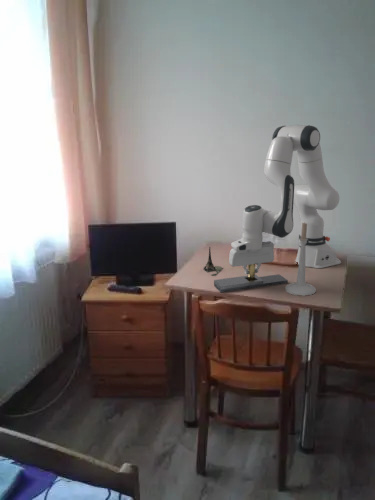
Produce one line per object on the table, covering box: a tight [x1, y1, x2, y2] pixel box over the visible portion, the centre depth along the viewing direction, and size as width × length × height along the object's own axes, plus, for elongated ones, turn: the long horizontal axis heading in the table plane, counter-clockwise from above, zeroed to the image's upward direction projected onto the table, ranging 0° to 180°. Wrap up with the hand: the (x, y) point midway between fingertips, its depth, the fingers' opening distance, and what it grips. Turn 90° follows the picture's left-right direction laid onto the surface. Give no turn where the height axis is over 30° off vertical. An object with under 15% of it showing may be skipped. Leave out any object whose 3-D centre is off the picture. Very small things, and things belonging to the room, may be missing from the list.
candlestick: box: [284, 222, 317, 297], centre depth 188 cm, size 13×13×30 cm
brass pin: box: [247, 264, 256, 281], centre depth 198 cm, size 3×3×10 cm
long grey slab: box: [213, 274, 288, 293], centre depth 199 cm, size 32×8×3 cm, turn 107°
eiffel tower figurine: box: [202, 246, 224, 277], centre depth 216 cm, size 15×10×13 cm
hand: (251, 273), depth 198 cm, fingers closed on brass pin, 3 cm apart
